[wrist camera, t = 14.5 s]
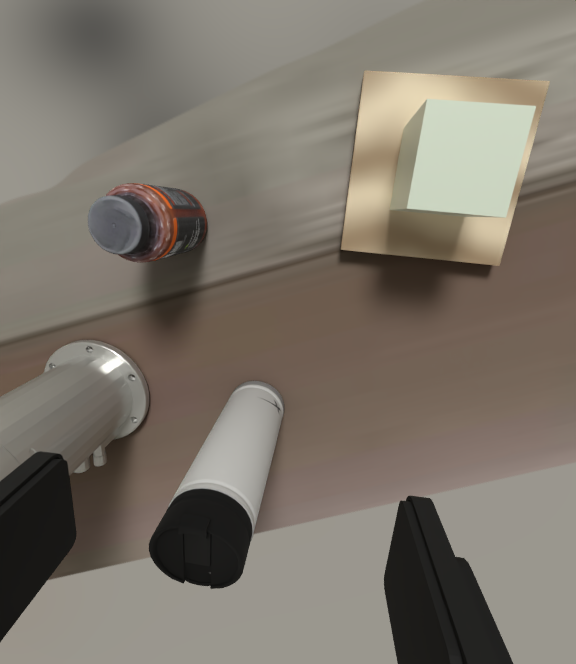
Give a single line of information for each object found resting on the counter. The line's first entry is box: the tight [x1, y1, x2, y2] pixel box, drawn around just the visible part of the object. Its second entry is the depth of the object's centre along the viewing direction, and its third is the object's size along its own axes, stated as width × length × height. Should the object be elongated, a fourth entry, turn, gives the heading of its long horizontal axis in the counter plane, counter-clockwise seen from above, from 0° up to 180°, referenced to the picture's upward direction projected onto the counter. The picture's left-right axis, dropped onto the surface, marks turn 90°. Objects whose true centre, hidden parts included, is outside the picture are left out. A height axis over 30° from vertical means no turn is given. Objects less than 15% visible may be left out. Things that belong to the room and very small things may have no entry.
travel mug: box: [149, 381, 284, 589], centre depth 31 cm, size 6×7×20 cm
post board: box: [341, 71, 550, 266], centre depth 28 cm, size 14×14×8 cm
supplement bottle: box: [88, 183, 207, 262], centre depth 30 cm, size 6×6×11 cm
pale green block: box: [390, 99, 536, 218], centre depth 27 cm, size 6×6×8 cm
